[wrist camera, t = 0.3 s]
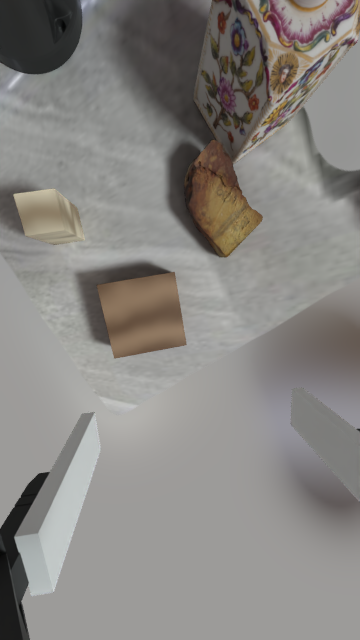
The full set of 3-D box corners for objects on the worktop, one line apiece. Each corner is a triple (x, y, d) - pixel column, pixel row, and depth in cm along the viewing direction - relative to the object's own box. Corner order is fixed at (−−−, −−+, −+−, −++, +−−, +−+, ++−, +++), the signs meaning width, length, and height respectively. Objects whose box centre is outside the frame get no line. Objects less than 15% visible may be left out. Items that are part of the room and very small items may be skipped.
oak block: (45, 212, 35) (13, 194, 27) (77, 208, 35) (54, 188, 27) (54, 244, 36) (25, 236, 28) (85, 240, 36) (64, 230, 28)
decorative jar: (289, 124, 36) (414, -22, 18) (231, 168, 36) (299, 67, 19) (251, 48, 33) (355, -207, 16) (189, 97, 34) (223, -99, 16)
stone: (258, 231, 39) (273, 224, 34) (216, 262, 39) (224, 260, 34) (211, 151, 36) (220, 130, 31) (166, 185, 36) (167, 170, 31)
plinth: (104, 283, 38) (96, 284, 33) (172, 272, 39) (174, 271, 34) (119, 348, 40) (114, 358, 35) (183, 336, 41) (186, 344, 36)
